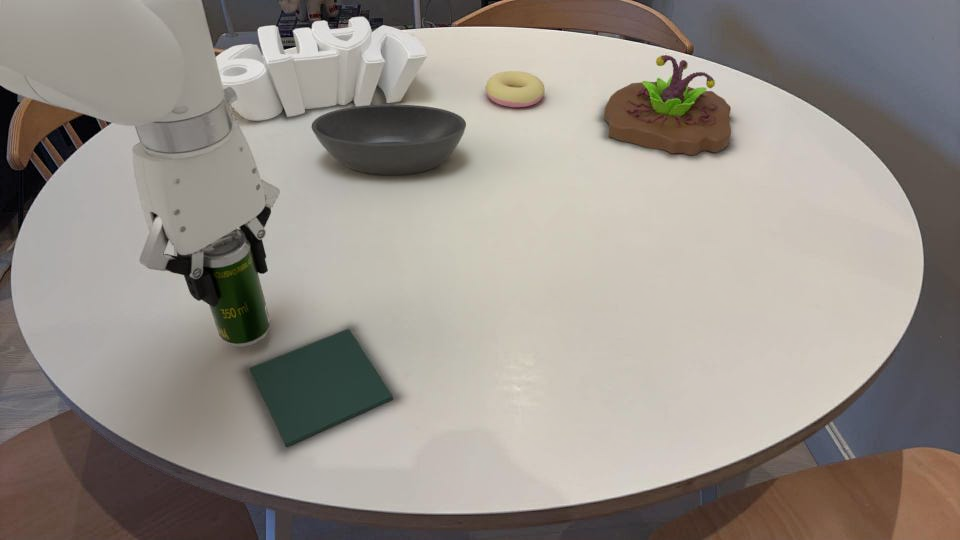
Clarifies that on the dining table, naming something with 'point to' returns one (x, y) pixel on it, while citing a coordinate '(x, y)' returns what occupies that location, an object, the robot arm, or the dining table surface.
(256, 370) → the front mat
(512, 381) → the dining table surface
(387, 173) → the bowl
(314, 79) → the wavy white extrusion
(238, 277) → the beer can
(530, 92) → the donut
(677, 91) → the plant
